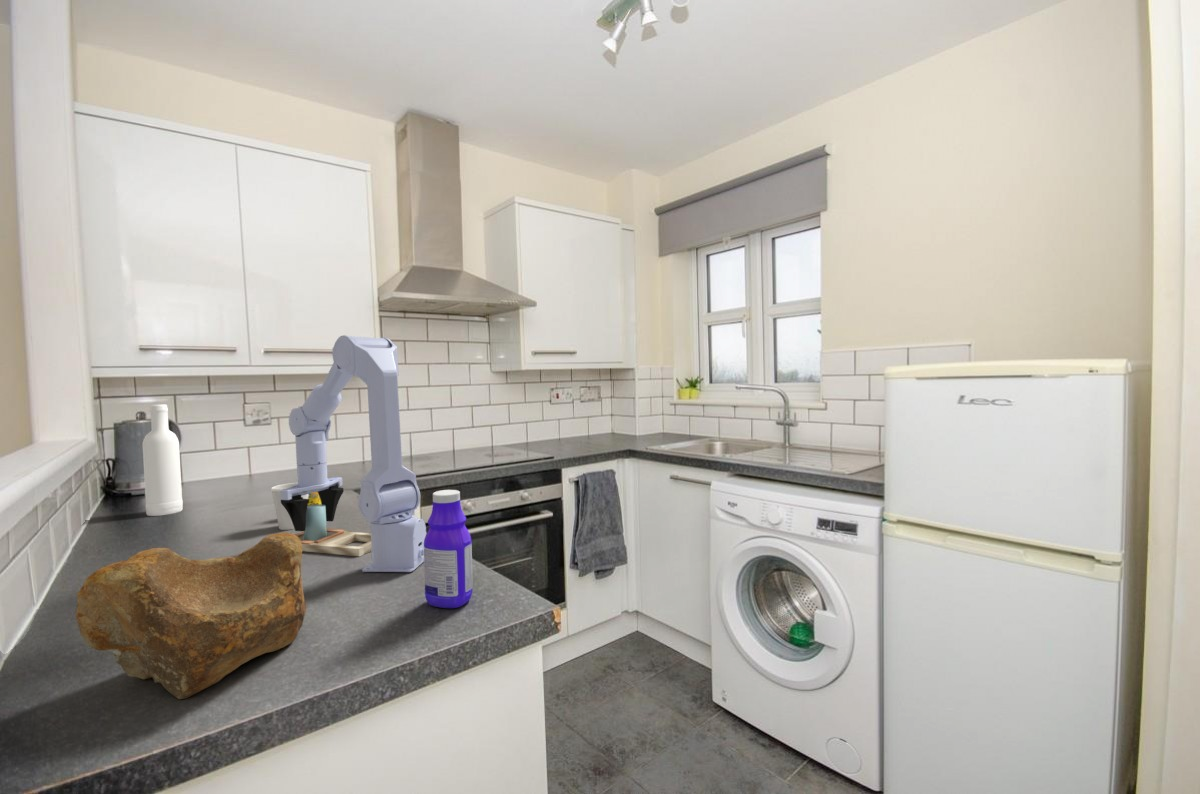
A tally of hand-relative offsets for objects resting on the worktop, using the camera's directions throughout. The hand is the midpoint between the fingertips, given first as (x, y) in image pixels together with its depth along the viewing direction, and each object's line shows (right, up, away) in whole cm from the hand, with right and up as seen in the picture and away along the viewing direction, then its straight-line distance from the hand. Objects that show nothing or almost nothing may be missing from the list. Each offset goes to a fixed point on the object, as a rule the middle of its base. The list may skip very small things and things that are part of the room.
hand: (314, 525), depth 114 cm
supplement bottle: (-14, -4, +24) cm, 29 cm away
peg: (0, -4, 0) cm, 4 cm away
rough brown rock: (+14, -6, -49) cm, 52 cm away
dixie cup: (-13, -4, +14) cm, 20 cm away
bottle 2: (+38, -4, -32) cm, 50 cm away
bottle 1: (-59, -4, +32) cm, 67 cm away
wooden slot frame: (+5, -4, -1) cm, 7 cm away
